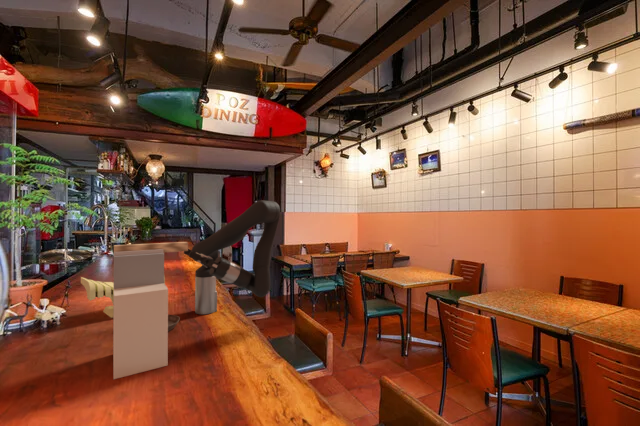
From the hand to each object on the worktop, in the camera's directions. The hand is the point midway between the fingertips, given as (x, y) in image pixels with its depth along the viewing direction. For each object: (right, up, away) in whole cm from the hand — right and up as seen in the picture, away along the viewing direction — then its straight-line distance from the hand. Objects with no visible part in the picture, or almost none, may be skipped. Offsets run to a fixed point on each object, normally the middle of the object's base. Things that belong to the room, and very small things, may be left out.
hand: (187, 252), depth 109 cm
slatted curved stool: (-44, -33, +33) cm, 64 cm away
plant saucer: (-19, -34, +14) cm, 41 cm away
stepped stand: (-10, -33, -12) cm, 37 cm away
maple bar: (-9, +1, -6) cm, 11 cm away
